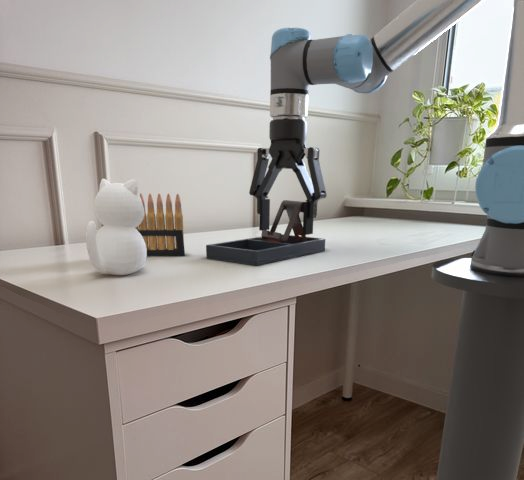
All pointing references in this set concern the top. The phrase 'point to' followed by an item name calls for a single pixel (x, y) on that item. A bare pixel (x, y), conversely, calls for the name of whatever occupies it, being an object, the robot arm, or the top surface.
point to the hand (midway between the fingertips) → (285, 232)
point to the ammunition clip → (163, 228)
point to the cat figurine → (117, 229)
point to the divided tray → (263, 250)
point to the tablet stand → (294, 223)
